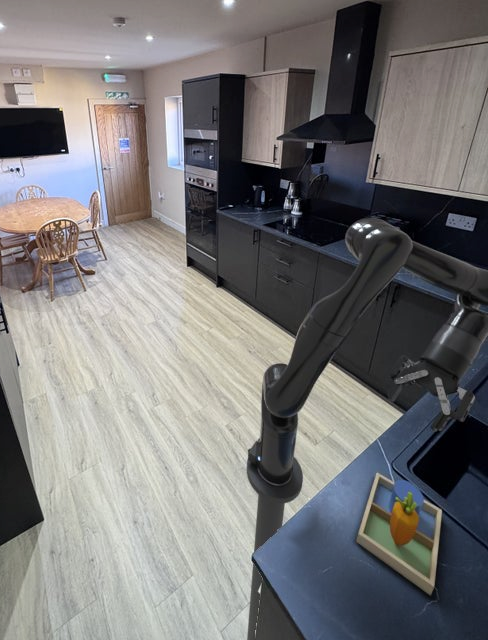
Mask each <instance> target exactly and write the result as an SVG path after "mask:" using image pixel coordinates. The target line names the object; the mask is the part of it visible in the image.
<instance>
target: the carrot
mask: <svg viewBox="0 0 488 640" xmlns="http://www.w3.org/2000/svg"><path fill="white" fill-rule="evenodd" d="M404 499H405V502H402V501H401V500H400V499H399V498H397V497H396V500H397V501H398V502H395V504H394V507H393V510H392V514H391V519H390V532H391V536H392V538H393V540H394V542H395V544H396V545H397V546H402V545H406V544H408V543H409V542H410V541H411V539H412V538H413V536H414V534H415V532H416V529H417V526H418V522H419V516H418V515H417V513H416V511H415V510H414V509H415V508H416V506H417V503H416V502H414V503H413V494H412V493H410V492H408V498H407V497H405V498H404Z"/></svg>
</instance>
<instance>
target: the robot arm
mask: <svg viewBox="0 0 488 640" xmlns="http://www.w3.org/2000/svg"><path fill="white" fill-rule="evenodd" d="M344 243H345V247H346V249H347V250H348V252H349V253H350V254H351V255H352V256H353V257H354V258H355V259H356V260H357V261H358V264H357V266H356V267H355V269H354V270H353V272H352V274H351V275H350V277H349V278H348V279H347V281H346V282H345V283H344V284H343V285H342V286H341V287H340V288H338V289H336V290H334V291H333V292H330V293H328V294H325V295H324V296H322V297H320V299H319V298H318V300H316V301H315V302H314V303H313V305H312V306H311V307H310V309H309V310H308V312H307V313H306V315H305V317H304V318H303V320H302V321H301V323H300V326H299V328H298V331H297V333H296V337H295V340H294V343H293V348H292V351H291V355H290V358H289V361H288V363H287V364H286V363H281V362H280V363H274V364H272V365H270V366H269V367H267V368H266V370H265V371H264V373H263V375H262V382H261V399H260V400H261V401H260V411H261V412H260V425H259V426H260V429H259V438H258V439H257V440H255V442H254V443H253V445H252V446H251V447H250V448H248V449H247V459H248V460H249V461H250V462H252V463H253V464H255V468H256V469H257V470H258V472H259V475H260V476H261V478H262V479H263V480H264V481H265V482H267V483H268V484H270V485H272V486H276V487H281V486H285V485H286V484H288V483H289V482H290V480H291V477H292V468H293V459H294V457H295V451H296V443H297V434H298V425H299V412H300V411H301V410H302V409H303V407H304V406H305V404H306V402H307V400H308V398H309V396H310V394H311V392H312V390H313V388H314V386H315V385H316V383H317V381H318V380H319V378H320V377H321V375H322V374H323V372H324V371H325V369H326V368H327V366H328V365H329V363H330V362H331V361H332V359H333V357H334V356H335V355H336V354H337V352H338V351H339V350H340V348H341V347H342V346H343V344H344V343H345V342H346V340H347V339H348V337H349V336H350V334H351V333H352V331H353V330H354V328H355V327H356V325H357V324H358V322H359V321H360V319H361V318H362V317H363V315H365V313H366V312H367V310H368V309H369V308H370V306H371V305H372V304H373V302H374V301H375V300H376V299H377V297H378V296H379V295H380V294H381V293H382V292H383V291H384V289H385V288H387V286H388V285H389V284H390V283H391V282H392V280H394V278H395V277H396V276H397V275H398V274H399V273H400V271H402V270H405V271H406V272H408V273H410V274H411V275H413V276H415V277H417V278H418V279H421V280H423V281H425V282H426V283H428V284H430V285H433V286H434V287H436V288H439V289H442V290H444V291H446V292H449V293H452V294H455V300H454V303H453V308H452V311H451V313H450V314H449V316H448V317H447V319H445V320H446V321H445V322H444V323H443V325H442V326H441V327H440V328H439V330H438V331H436V333H435V334H434V336H433V338H432V339H431V340H430V342H429V344H428V346H427V347H426V348H425V350H424V351H423V353H422V354H421V356H420V358H419V359H418V360H417V361H415V362H414V361H413V360H411V359H410V358H408V357H407V355H405V354H401V355H400V356H399V358H398V359H397V360H396V361H395V363H394V364H393V365H392V367H391V368H390V369H389V371H388V372H387V375H388V376H389V377H390V379H391V380H392V382H393V383H392V385H391V386H390V388H389V389H388V391H387V393H386V395H387V399H388V401H390V402H391V403H394V402H395V401H396V399H397V397H398V396H400V394H401V392H402V390H403V388H404V387H407V386H414V385H417V386H418V387H419V388H420V389H422V390H424V391H426V392H428V393H429V394H430V395H432V396H433V397H438V400H439V403H440V407H441V410H442V411H439V412H438V413H437V415H436V417H435V418H434V420H433V422H432V423H431V425H430V427H429V428H430V429H431V430H432V431H434V432H435V433H437V432H441V431H443V430H444V428H445V427H446V425H447V423H448V422H449V420H451V419H452V420H456V421H458V422H461V423H463V422H464V421H465V420H466V418H467V416H468V414H469V412H470V410H471V408H472V406H473V405H474V402H475V400H476V396H475V394H474V393H473V391H471V390H466V389H464V388H462V387H460V383H461V381H462V380H463V378H464V377H465V375H466V373H467V371H468V370H469V369H470V367H471V365H472V364H473V363H474V362H475V360H476V357H477V356H478V354H479V352H480V349H481V347H482V345H483V344H484V342H485V340H486V339H487V337H488V315H487V314H486V313H484V312H483V311H480V310H479V308H480V307H481V306H484V307H488V270H487V269H483V268H480V267H476V266H474V265H472V264H471V263H468V262H466V261H463V260H461V259H459V258H456V257H453V256H451V255H448V254H446V253H443V252H440V251H438V250H435V249H433V248H431V247H429V246H426V245H423V244H421V243H419V242H416V241H414V240H413V239H411V237H410V236H409V235H408V234H407V233H405V232H404V231H403V230H401V229H399V228H397V227H395V226H393V225H392V224H390V223H389V222H387V221H385V220H383V219H380V218H375V217H366V218H365V217H364V218H361V219H359V220H356V221H354V222H353V223H352V224H351V225H350V226H349V227H348V228H347V230H346V232H345V236H344ZM410 367H411V368H412V373H408V374H405V375H404V376H400V375H401V373H402V372H403V371H404V370H405V369H409V368H410ZM399 376H400V377H399ZM456 393H458V398H459V400H460V402H459V404H458V405H457V409H456V410H452V409H451V404H450V400H449V397H448V395H452V394H456Z"/></svg>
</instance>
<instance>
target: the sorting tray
mask: <svg viewBox="0 0 488 640" xmlns="http://www.w3.org/2000/svg"><path fill="white" fill-rule="evenodd" d="M394 483H395V481H393V480H391V479H389V478H387V477H386V476H384V475H382V474H381V473H379V472H376V474H375V477H374V480H373V483H372V487H371V489H370V494H369V497H368V500H367V502H366V503H367V504H366V507H365V510H364V513H363V516H362V521H361V522H360V526H359V530H358V534H357V537H356V543H357V544H359V545H360V546H361V547H363V548H364V549H365V550H367V551H368V552H369V553H371V554H372V555H374V556H375V557H377V559H379V560H380V561H382V562H384V563H385V564H386V565H388V567H390V568H391V569H393V570H394V571H396V572H397V573H398V574H400V575H401V576H403V577H404V578H405V579H407V581H409V582H410V583H413V584H414V585H415V586H417V587H418V588H419V589H420V590H421V591H423V592H424V593H425V594H427V595H429V596H432V594H433V591H434V588H435V585H436V583H435V582H436V573H437V563H438V554H439V546H440V545H439V544H440V536H441V526H442V514H443V510H442V509H441V508H440V507H438V506H436V505H434V504H432V503H430V502H429V501H427V500H426V499H424V503H423V506H422V509H421V512H420V515H419V522H418V526H417V529H416V532H415V534H414V536H413V538H412V539H411V541H410V542H409V543H408V544H406V545H402V546H397V545H396V544H395V542H394V540H393V538H392V536H391V532H390V519H391V512H390V510H389V501H390V497H391V493H392V490H393V486H394Z"/></svg>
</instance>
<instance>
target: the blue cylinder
mask: <svg viewBox="0 0 488 640" xmlns="http://www.w3.org/2000/svg"><path fill="white" fill-rule="evenodd" d="M408 492H410V493H412V494H413V503H414V502H416V503H417V506H416V508H415V509H414V510H415V511H416V513H417V515H418V516H419V515H420V512H421V509H422V506H423V503H424V500H425V499H424V495H423V493H422V491H421V490H420V489H419V488H418V486H416V485H414V483H412V482H410V481H408V480H406V479H397V480H396V481H394V486H393V490H392V493H391V497H390V501H389V510H390V512H391V514H392V510H393V507H394V504H395V502H398V501H397V500H396V497H397V498H399V499H400V500H401V501H402V502H405V499H404V498H405V497H407V498H408Z"/></svg>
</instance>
